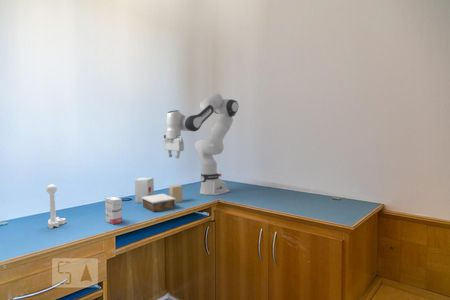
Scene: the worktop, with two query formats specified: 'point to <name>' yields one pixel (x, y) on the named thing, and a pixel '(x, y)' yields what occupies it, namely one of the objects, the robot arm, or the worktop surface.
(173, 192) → the carton
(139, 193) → the supplement box
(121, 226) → the worktop surface
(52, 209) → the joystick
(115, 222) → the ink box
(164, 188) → the worktop surface
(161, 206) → the podium
